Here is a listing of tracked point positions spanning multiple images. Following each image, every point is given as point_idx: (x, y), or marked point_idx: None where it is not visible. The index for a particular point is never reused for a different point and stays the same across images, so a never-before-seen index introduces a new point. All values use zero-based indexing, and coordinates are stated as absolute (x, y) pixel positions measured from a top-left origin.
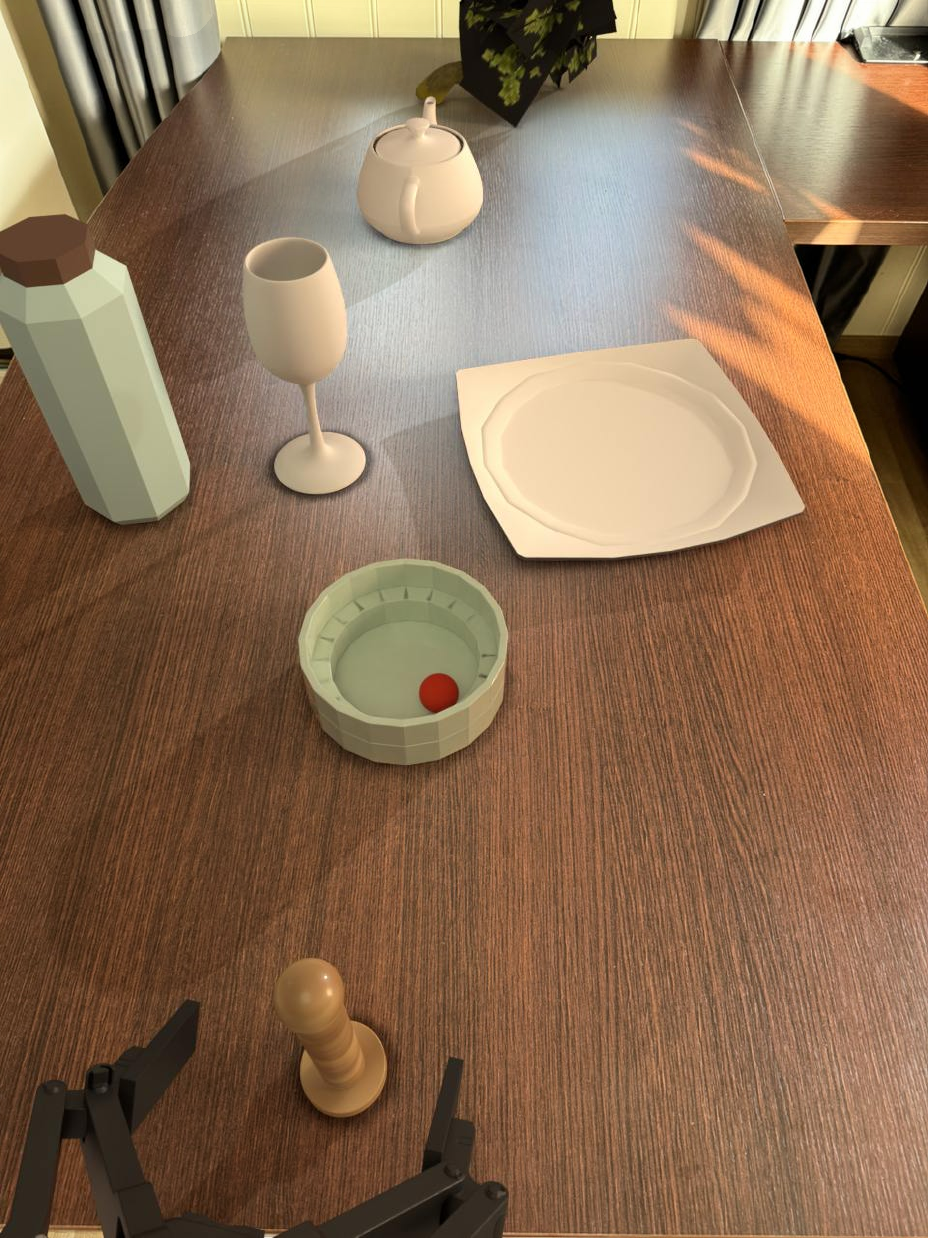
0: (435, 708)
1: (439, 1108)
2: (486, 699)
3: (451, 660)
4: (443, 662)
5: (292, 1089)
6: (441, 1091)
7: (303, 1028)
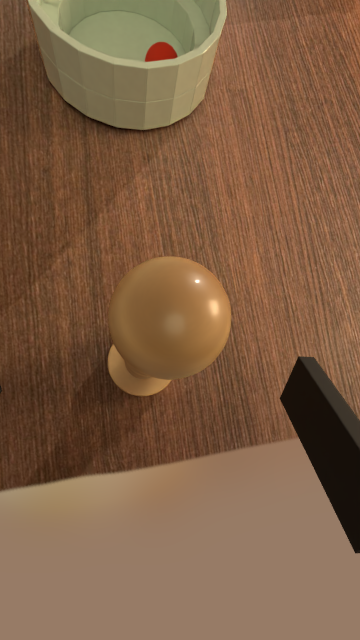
0: None
1: (350, 428)
2: (212, 56)
3: None
4: None
5: (103, 381)
6: (330, 402)
7: (181, 374)
